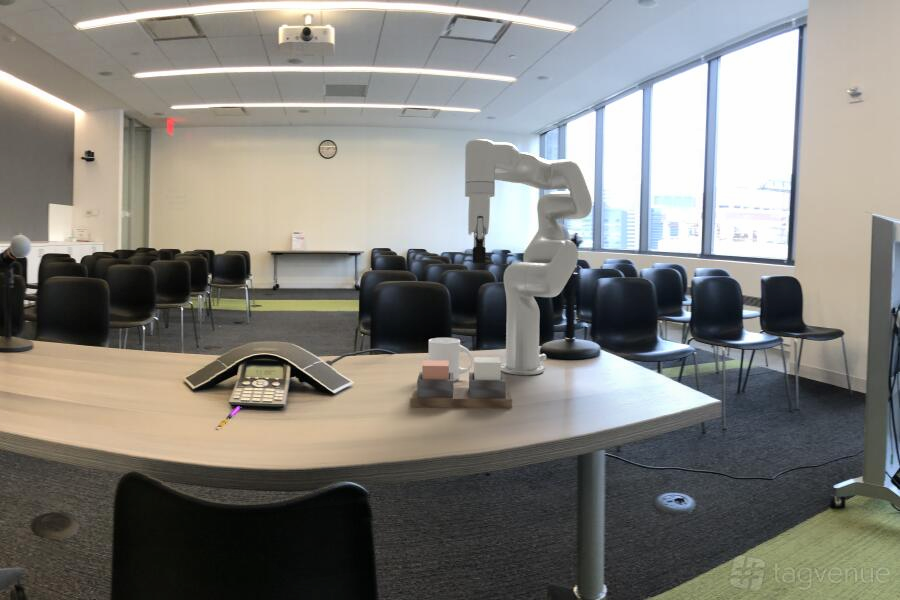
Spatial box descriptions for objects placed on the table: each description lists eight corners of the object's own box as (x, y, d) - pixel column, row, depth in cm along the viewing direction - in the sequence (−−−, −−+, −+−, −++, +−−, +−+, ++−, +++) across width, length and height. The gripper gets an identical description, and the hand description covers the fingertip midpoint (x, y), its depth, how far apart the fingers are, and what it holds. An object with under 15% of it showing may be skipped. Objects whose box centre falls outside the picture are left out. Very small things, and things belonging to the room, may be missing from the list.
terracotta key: (448, 385, 137) (448, 360, 137) (448, 391, 131) (448, 366, 131) (423, 384, 137) (423, 360, 137) (422, 391, 131) (422, 365, 131)
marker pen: (238, 407, 130) (214, 431, 114) (239, 402, 129) (215, 425, 114) (249, 409, 130) (228, 434, 114) (251, 404, 130) (229, 428, 114)
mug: (470, 383, 151) (470, 344, 150) (425, 381, 153) (425, 342, 152) (473, 376, 160) (474, 338, 159) (431, 374, 161) (431, 337, 160)
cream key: (498, 381, 137) (499, 357, 136) (500, 388, 131) (500, 362, 130) (473, 381, 137) (474, 357, 136) (474, 388, 131) (474, 362, 130)
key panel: (508, 395, 139) (508, 371, 139) (511, 407, 129) (512, 382, 129) (414, 395, 140) (414, 371, 139) (410, 406, 130) (410, 381, 129)
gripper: (464, 192, 152) (464, 261, 154) (465, 187, 137) (464, 264, 139) (492, 193, 152) (491, 262, 153) (496, 187, 137) (495, 264, 139)
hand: (479, 262), depth 146 cm, fingers closed
